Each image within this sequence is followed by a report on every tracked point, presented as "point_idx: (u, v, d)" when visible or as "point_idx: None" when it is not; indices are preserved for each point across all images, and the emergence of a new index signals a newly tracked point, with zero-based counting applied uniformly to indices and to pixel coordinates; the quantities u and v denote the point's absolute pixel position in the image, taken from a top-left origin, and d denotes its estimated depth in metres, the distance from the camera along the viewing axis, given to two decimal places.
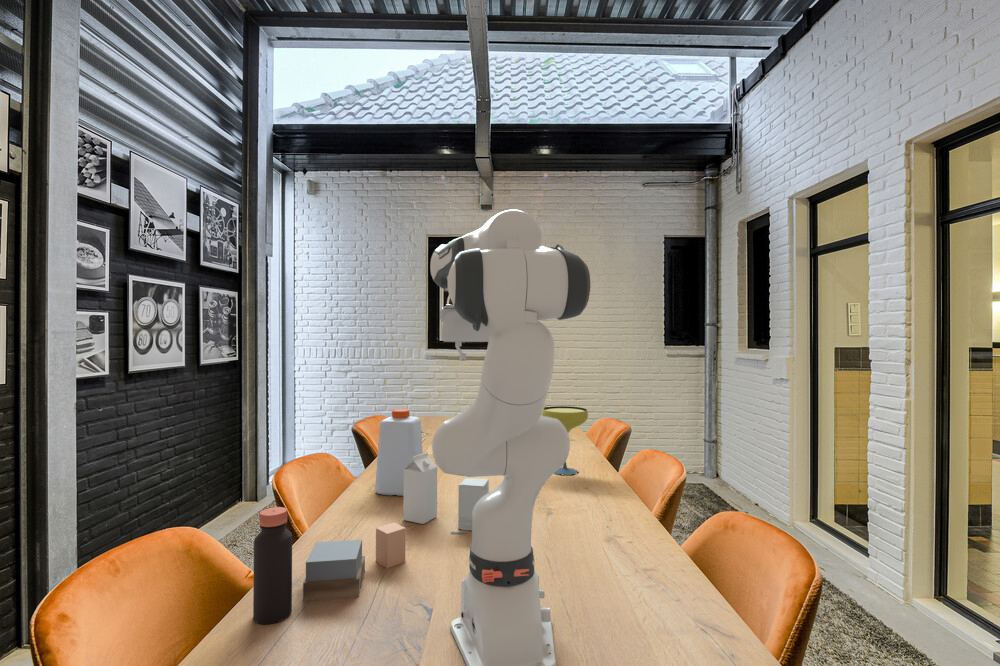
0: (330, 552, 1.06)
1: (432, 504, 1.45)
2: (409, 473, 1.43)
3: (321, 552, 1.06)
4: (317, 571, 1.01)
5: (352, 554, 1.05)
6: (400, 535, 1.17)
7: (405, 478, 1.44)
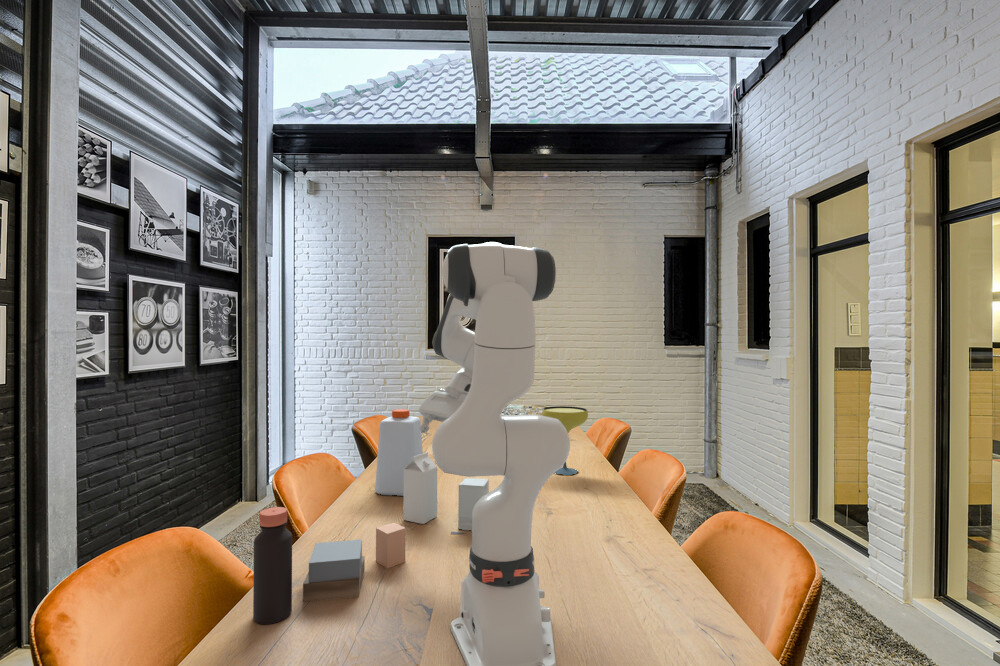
0: (331, 552, 1.05)
1: (432, 504, 1.45)
2: (409, 473, 1.43)
3: (323, 552, 1.05)
4: (320, 571, 1.01)
5: (354, 554, 1.05)
6: (400, 535, 1.17)
7: (405, 478, 1.44)
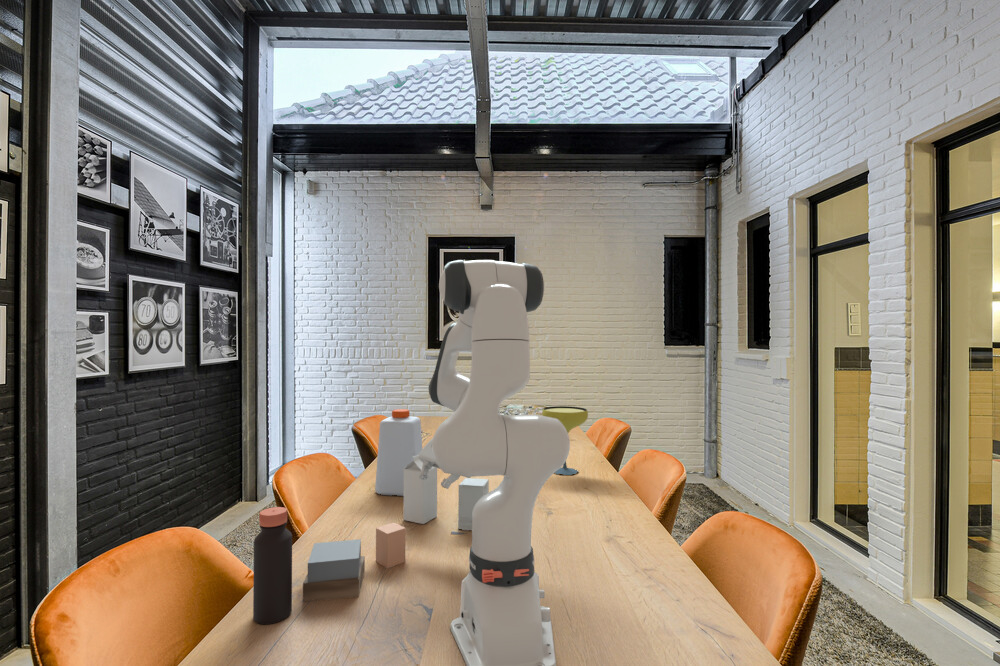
0: (330, 552, 1.05)
1: (432, 504, 1.45)
2: (409, 473, 1.43)
3: (321, 552, 1.05)
4: (319, 572, 1.01)
5: (353, 553, 1.05)
6: (400, 535, 1.17)
7: (405, 478, 1.44)
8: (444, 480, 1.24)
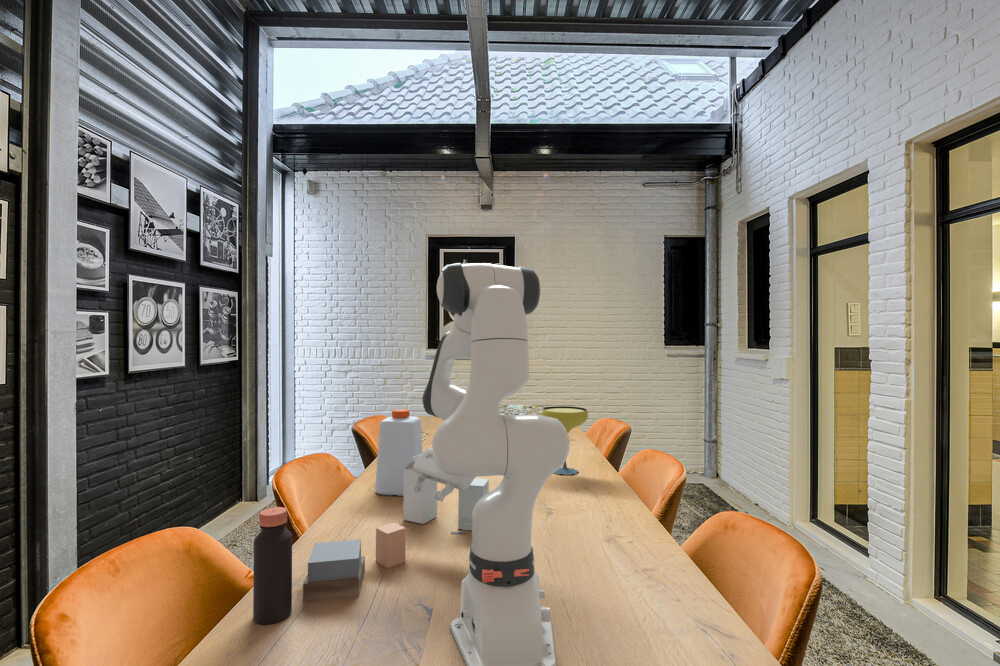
0: (330, 552, 1.06)
1: (432, 504, 1.45)
2: (409, 473, 1.43)
3: (322, 552, 1.05)
4: (319, 571, 1.01)
5: (353, 553, 1.05)
6: (400, 535, 1.17)
7: (405, 478, 1.44)
8: (438, 493, 1.23)
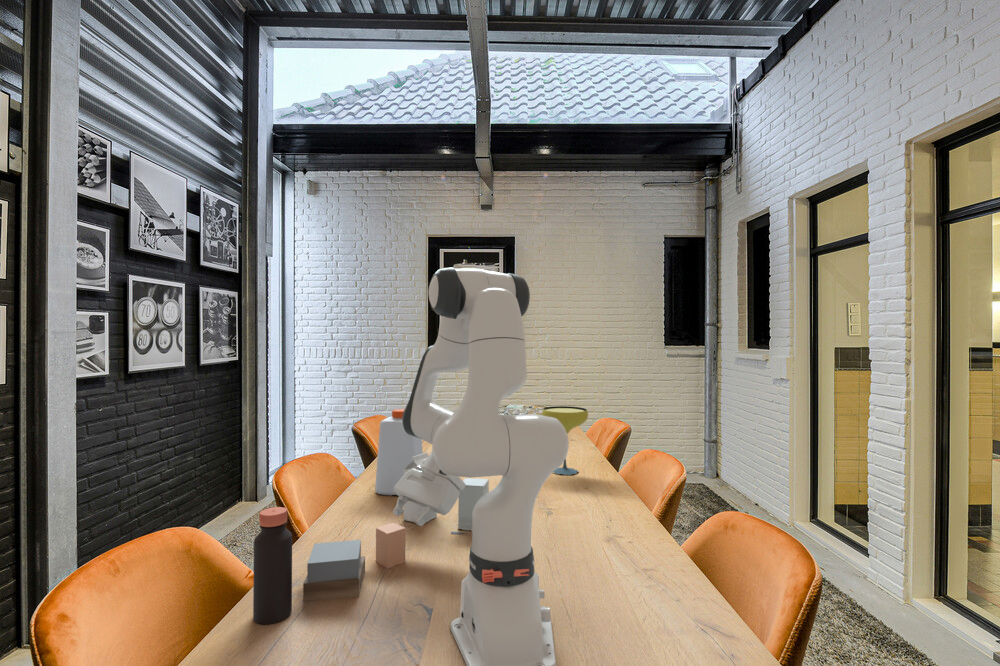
0: (330, 553, 1.05)
1: None
2: None
3: (321, 553, 1.05)
4: (319, 572, 1.01)
5: (353, 554, 1.05)
6: (400, 535, 1.17)
7: None
8: (418, 517, 1.18)
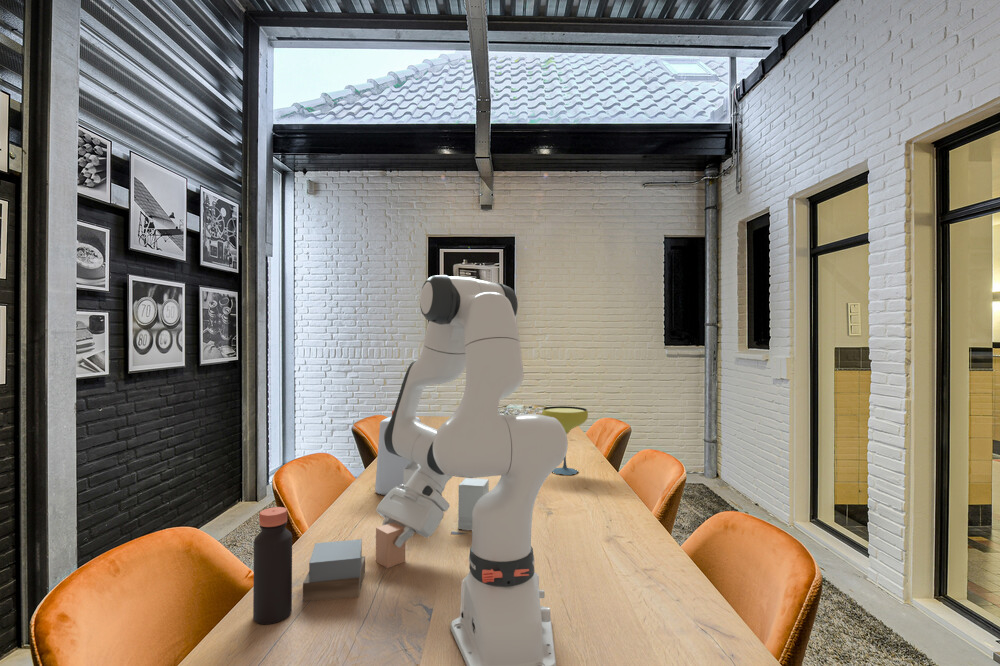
0: (331, 552, 1.05)
1: None
2: (409, 473, 1.43)
3: (323, 552, 1.05)
4: (321, 571, 1.01)
5: (355, 553, 1.05)
6: None
7: (405, 478, 1.44)
8: (396, 538, 1.16)
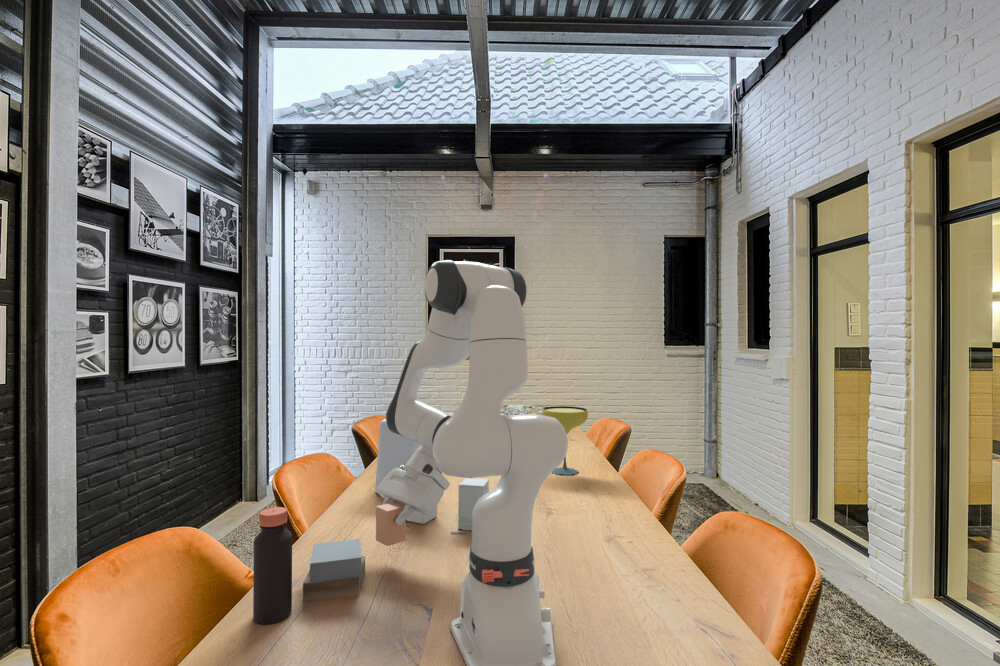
0: (331, 552, 1.05)
1: None
2: None
3: (323, 553, 1.05)
4: (322, 572, 1.01)
5: (355, 553, 1.05)
6: None
7: None
8: (396, 516, 1.15)
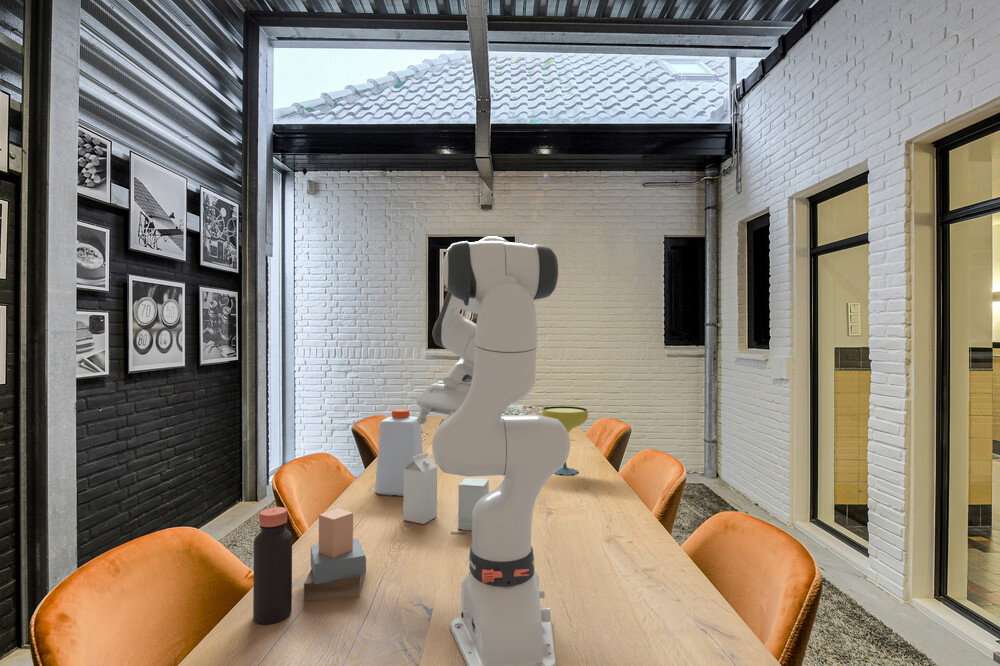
0: None
1: (432, 504, 1.45)
2: (409, 473, 1.43)
3: None
4: (326, 572, 1.01)
5: (357, 551, 1.06)
6: (347, 521, 1.06)
7: (405, 478, 1.44)
8: (442, 420, 1.22)
